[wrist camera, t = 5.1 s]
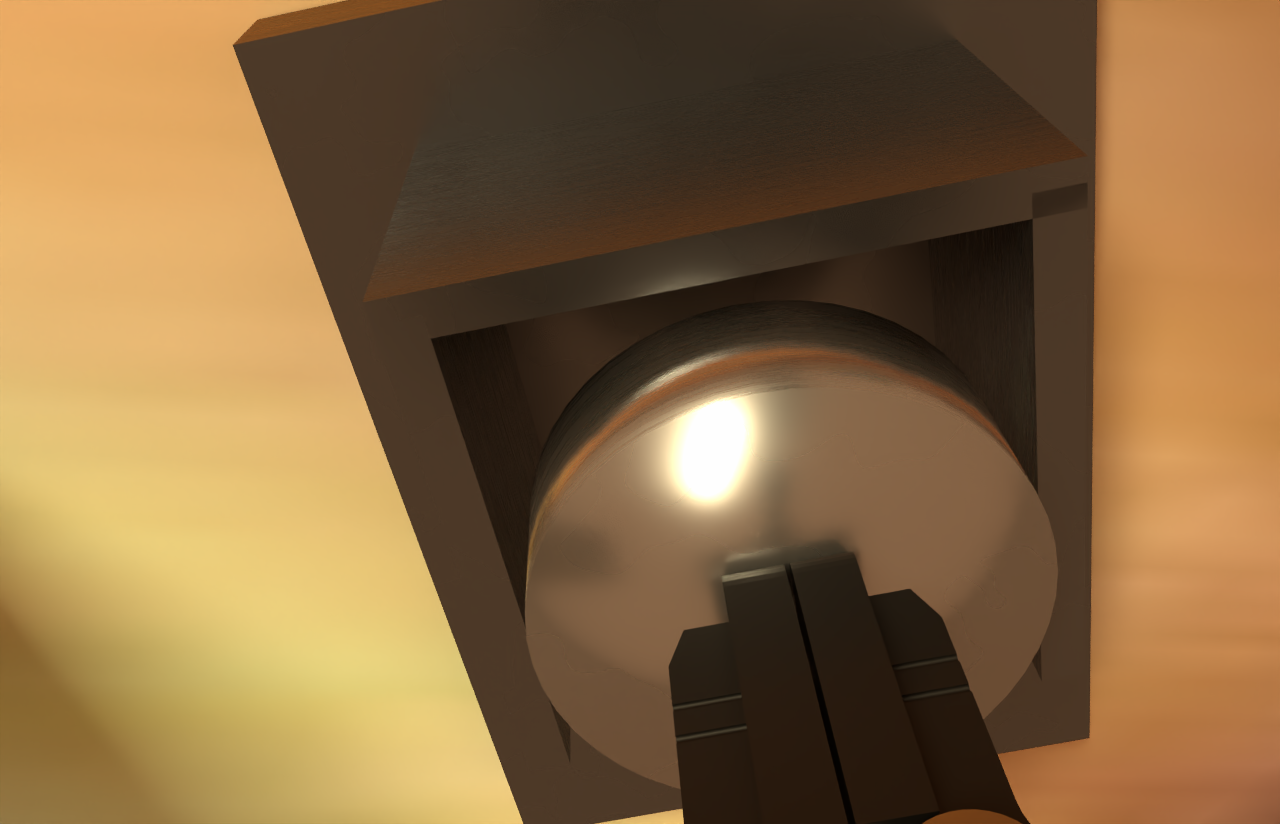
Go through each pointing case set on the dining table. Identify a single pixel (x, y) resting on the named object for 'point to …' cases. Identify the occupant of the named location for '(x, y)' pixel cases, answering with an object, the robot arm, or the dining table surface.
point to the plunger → (770, 505)
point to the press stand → (683, 258)
